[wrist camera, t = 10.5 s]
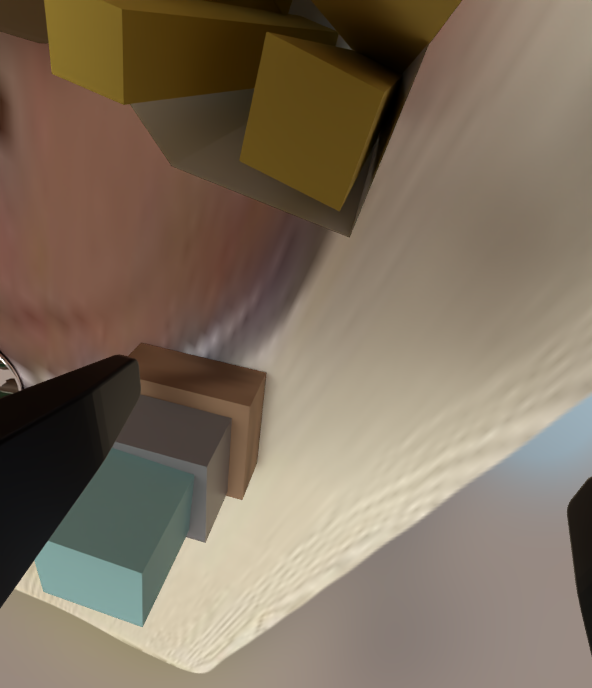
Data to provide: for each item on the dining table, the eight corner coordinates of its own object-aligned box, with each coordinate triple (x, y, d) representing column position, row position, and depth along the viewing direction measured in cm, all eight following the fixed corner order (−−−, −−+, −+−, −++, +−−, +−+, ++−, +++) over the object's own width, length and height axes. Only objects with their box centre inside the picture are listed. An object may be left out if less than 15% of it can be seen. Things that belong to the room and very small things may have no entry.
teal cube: (194, 474, 21) (142, 573, 17) (188, 531, 24) (142, 627, 19) (100, 444, 21) (26, 533, 17) (106, 503, 24) (43, 591, 20)
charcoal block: (231, 418, 23) (207, 467, 20) (227, 492, 27) (205, 542, 24) (122, 389, 24) (83, 432, 21) (132, 465, 27) (100, 511, 25)
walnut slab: (268, 369, 25) (250, 406, 22) (258, 458, 30) (242, 499, 27) (144, 339, 26) (111, 372, 23) (153, 430, 31) (126, 467, 28)
